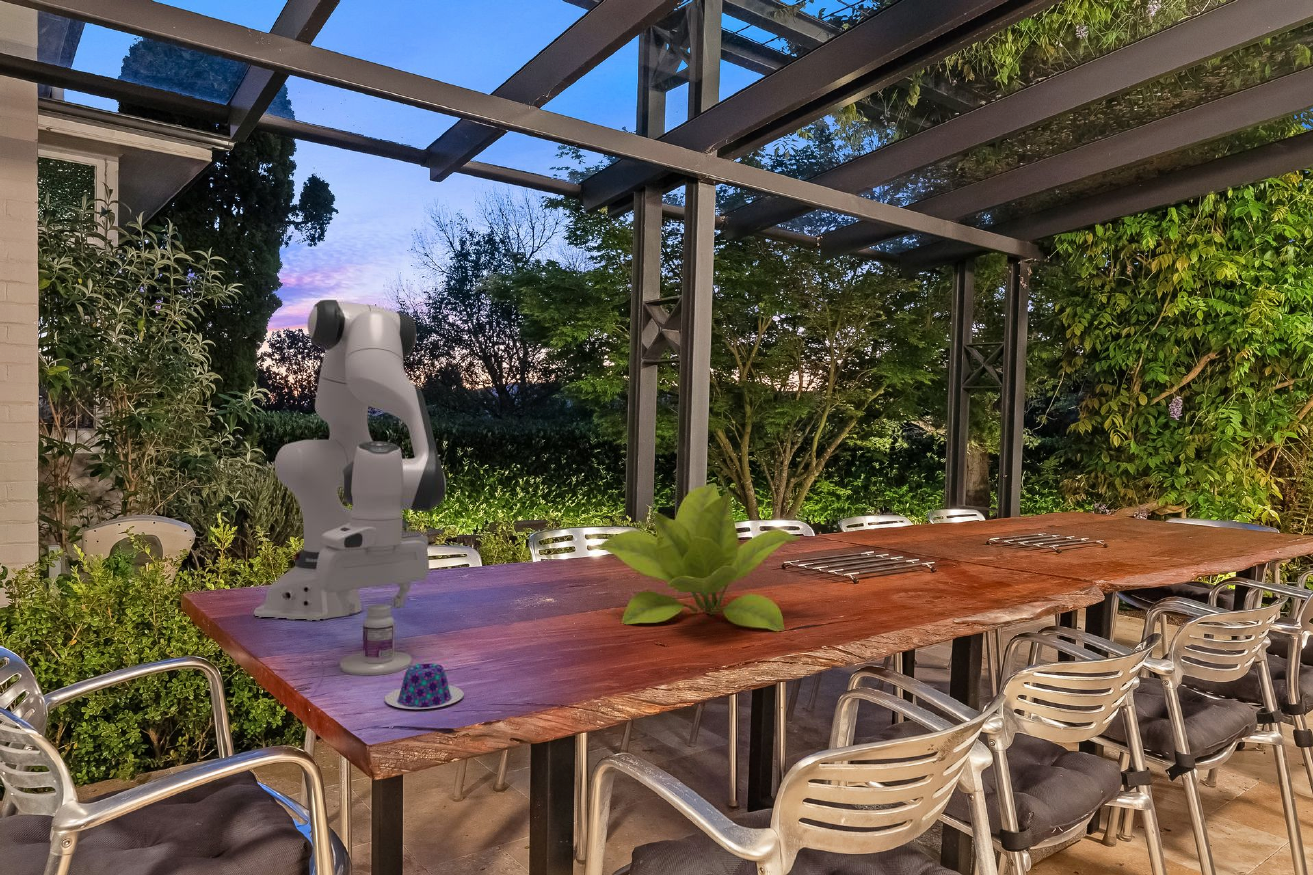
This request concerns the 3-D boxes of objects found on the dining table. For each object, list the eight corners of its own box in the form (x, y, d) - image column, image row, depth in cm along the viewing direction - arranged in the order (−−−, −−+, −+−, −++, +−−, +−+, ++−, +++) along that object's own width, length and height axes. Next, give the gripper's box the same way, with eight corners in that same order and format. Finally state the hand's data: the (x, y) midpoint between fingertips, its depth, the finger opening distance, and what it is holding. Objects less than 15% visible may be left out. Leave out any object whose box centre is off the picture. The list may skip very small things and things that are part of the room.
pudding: (412, 685, 140) (413, 654, 140) (477, 693, 136) (478, 661, 136) (368, 708, 128) (369, 674, 128) (438, 717, 125) (438, 682, 125)
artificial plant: (591, 638, 197) (562, 543, 180) (691, 526, 224) (673, 434, 207) (746, 708, 174) (729, 607, 157) (837, 574, 201) (830, 475, 184)
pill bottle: (365, 655, 152) (366, 602, 152) (396, 655, 152) (397, 602, 152) (359, 664, 146) (360, 609, 146) (391, 664, 147) (391, 609, 147)
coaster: (330, 675, 143) (330, 669, 143) (352, 655, 155) (352, 650, 155) (402, 675, 144) (402, 669, 144) (418, 656, 156) (418, 651, 156)
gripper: (419, 527, 159) (416, 599, 159) (312, 535, 144) (310, 615, 144) (437, 531, 155) (434, 605, 155) (329, 540, 140) (326, 622, 140)
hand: (373, 610), depth 150 cm, fingers open, 8 cm apart
